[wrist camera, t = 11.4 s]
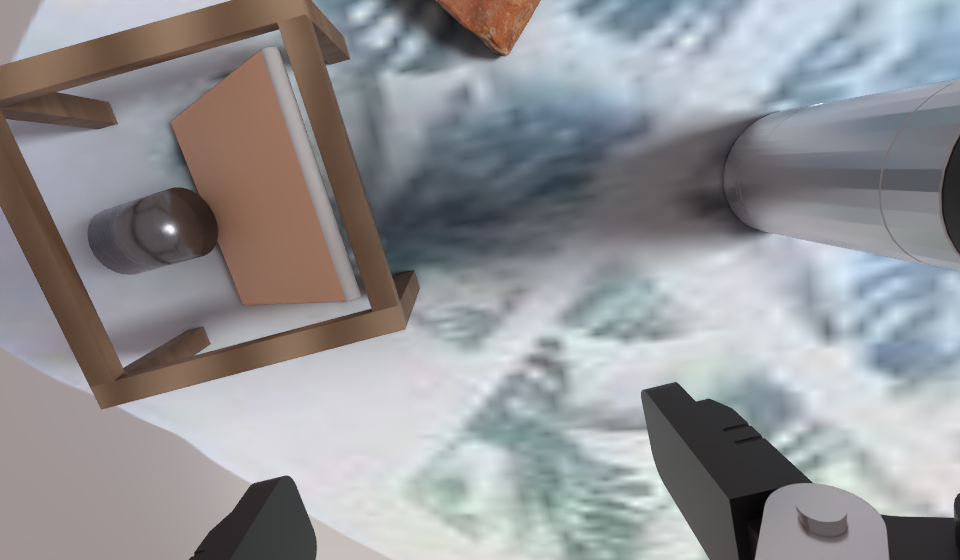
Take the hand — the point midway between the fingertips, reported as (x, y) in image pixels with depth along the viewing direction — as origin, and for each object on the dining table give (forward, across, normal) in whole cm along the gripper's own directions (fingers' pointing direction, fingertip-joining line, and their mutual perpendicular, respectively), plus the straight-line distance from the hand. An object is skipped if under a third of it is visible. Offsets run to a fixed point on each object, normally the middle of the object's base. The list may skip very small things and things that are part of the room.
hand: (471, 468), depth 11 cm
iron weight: (+23, +18, -8) cm, 30 cm away
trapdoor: (+23, +12, -8) cm, 27 cm away
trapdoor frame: (+27, +14, -8) cm, 32 cm away
